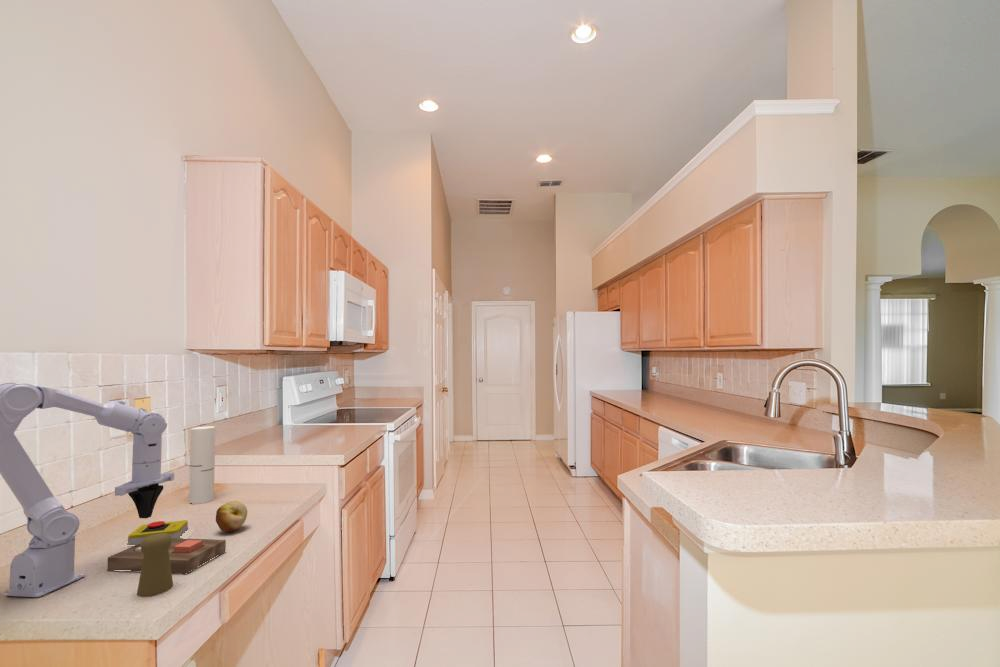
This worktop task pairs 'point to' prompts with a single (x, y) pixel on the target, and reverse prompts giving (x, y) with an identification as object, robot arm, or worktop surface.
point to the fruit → (231, 516)
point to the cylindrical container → (202, 465)
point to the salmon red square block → (188, 546)
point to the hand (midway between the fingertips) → (145, 517)
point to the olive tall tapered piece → (155, 566)
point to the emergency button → (157, 530)
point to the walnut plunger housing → (177, 560)
